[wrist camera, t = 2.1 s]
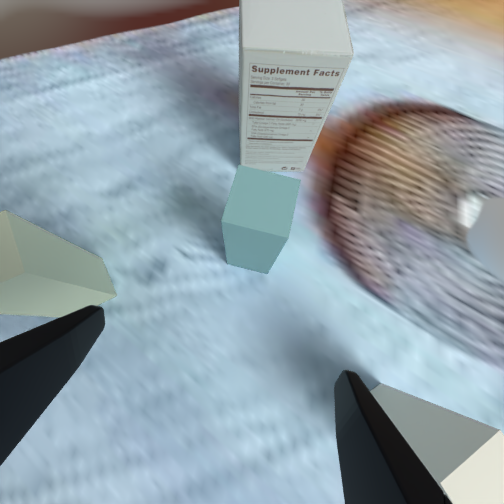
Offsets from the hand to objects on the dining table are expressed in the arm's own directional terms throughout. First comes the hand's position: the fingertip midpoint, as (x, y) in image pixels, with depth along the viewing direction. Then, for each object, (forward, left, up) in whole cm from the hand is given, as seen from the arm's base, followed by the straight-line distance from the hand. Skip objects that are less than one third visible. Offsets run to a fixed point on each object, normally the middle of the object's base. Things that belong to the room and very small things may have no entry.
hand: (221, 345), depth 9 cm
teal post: (+6, +6, -13) cm, 16 cm away
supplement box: (+14, +16, -14) cm, 25 cm away
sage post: (-9, +10, -13) cm, 19 cm away
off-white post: (+8, -12, -13) cm, 19 cm away
